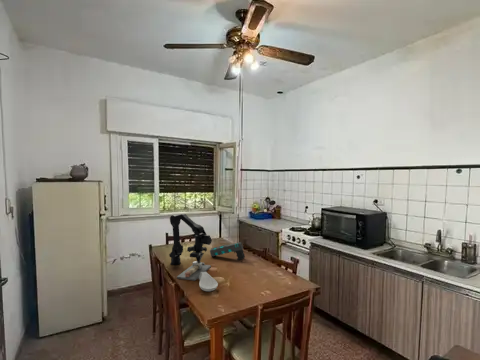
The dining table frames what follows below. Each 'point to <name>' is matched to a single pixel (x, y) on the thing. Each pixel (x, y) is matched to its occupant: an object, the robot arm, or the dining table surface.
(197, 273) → the board
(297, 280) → the dining table surface
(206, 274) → the spoon rest
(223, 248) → the gun
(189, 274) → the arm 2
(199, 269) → the grey rectangular block
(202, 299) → the dining table surface
